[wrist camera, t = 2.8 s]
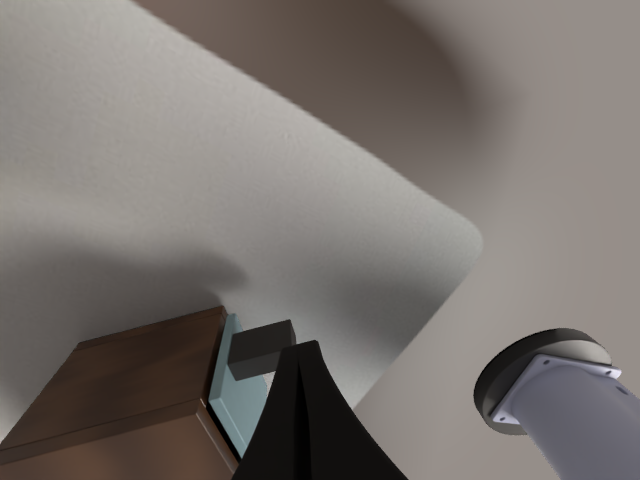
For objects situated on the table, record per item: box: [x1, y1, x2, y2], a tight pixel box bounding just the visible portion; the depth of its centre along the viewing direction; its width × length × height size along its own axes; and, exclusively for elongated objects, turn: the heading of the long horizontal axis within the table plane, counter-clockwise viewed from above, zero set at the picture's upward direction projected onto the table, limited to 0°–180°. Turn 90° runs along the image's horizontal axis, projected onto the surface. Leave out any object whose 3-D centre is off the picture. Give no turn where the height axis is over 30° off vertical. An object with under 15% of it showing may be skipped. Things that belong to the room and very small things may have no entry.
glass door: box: [208, 313, 296, 458], centre depth 19 cm, size 4×7×6 cm, turn 12°
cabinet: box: [0, 306, 242, 480], centre depth 21 cm, size 10×14×8 cm
